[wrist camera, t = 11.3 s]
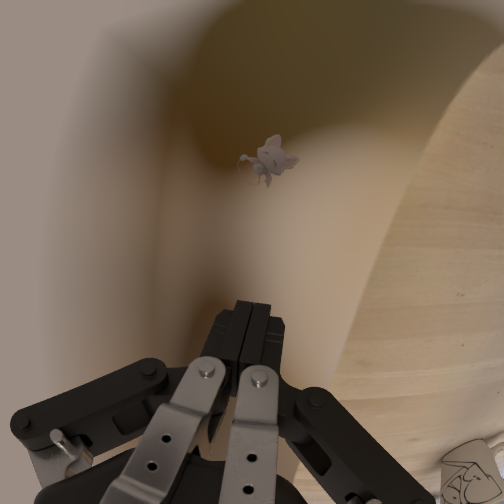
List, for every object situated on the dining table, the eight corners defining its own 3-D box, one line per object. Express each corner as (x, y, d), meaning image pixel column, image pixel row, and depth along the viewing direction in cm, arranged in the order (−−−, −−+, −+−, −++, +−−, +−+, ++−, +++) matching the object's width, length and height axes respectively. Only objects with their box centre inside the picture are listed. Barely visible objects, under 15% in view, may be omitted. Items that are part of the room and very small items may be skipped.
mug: (514, 413, 19) (534, 479, 10) (506, 437, 21) (520, 493, 13) (431, 454, 23) (440, 524, 14) (435, 470, 26) (441, 528, 17)
